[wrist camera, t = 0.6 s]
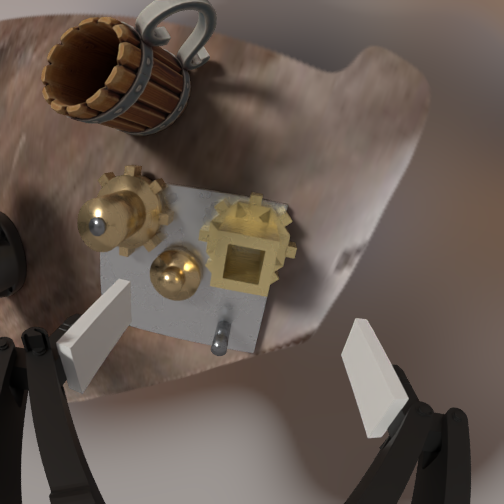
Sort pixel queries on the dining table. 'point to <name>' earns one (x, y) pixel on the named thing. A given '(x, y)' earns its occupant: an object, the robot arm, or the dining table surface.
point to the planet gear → (247, 245)
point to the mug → (127, 69)
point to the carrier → (169, 259)
